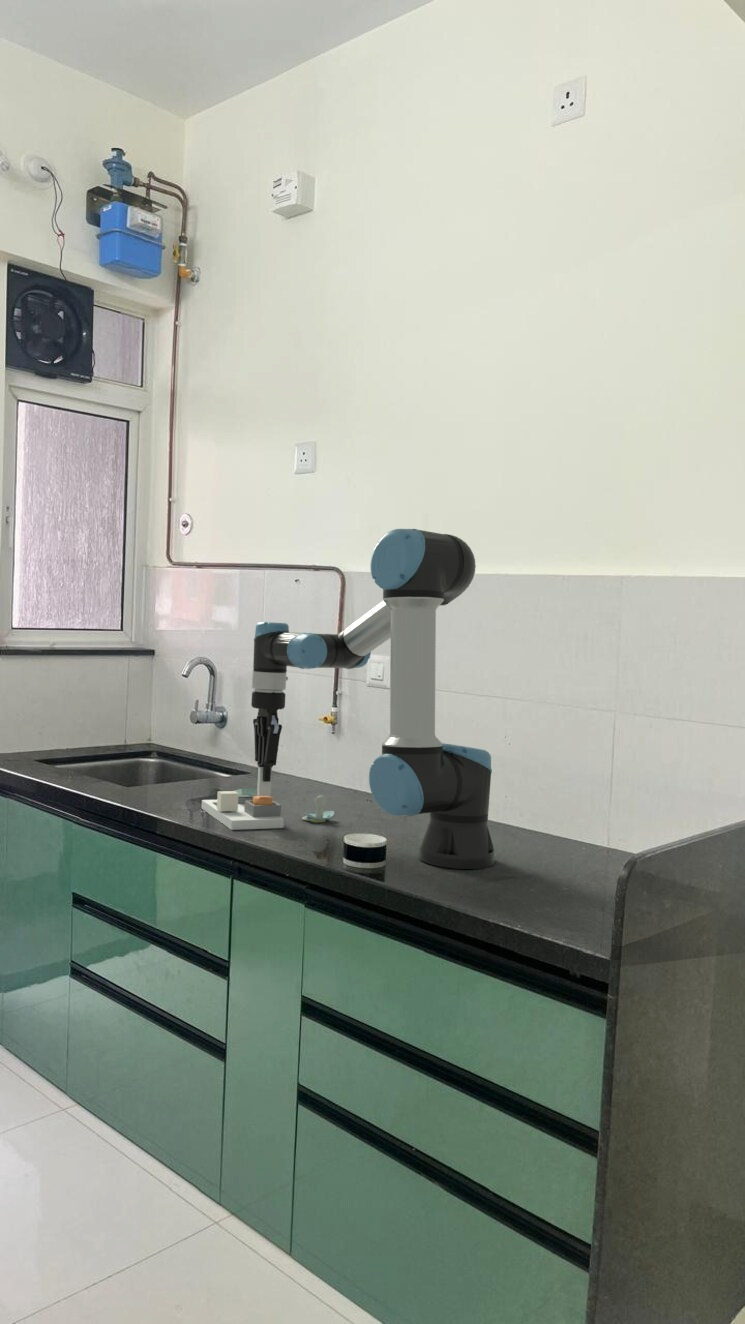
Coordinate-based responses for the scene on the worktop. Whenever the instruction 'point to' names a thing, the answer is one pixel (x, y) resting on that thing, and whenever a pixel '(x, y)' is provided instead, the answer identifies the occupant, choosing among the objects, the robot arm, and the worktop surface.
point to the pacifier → (319, 811)
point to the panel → (247, 814)
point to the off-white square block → (227, 801)
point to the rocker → (246, 792)
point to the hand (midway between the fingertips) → (263, 795)
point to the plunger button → (263, 800)
